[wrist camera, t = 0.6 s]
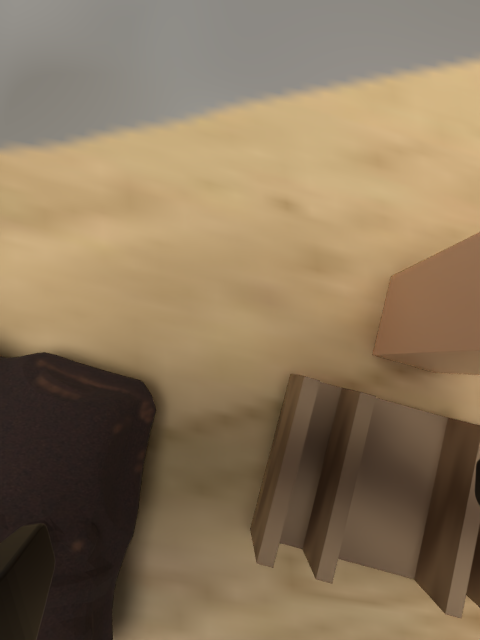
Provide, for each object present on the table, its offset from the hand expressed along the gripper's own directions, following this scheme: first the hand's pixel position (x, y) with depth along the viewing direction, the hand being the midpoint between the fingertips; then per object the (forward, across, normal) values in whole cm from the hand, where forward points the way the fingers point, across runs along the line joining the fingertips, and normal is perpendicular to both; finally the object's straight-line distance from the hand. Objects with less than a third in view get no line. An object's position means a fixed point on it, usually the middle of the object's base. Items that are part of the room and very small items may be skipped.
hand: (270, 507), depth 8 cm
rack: (+12, -8, +10) cm, 17 cm away
